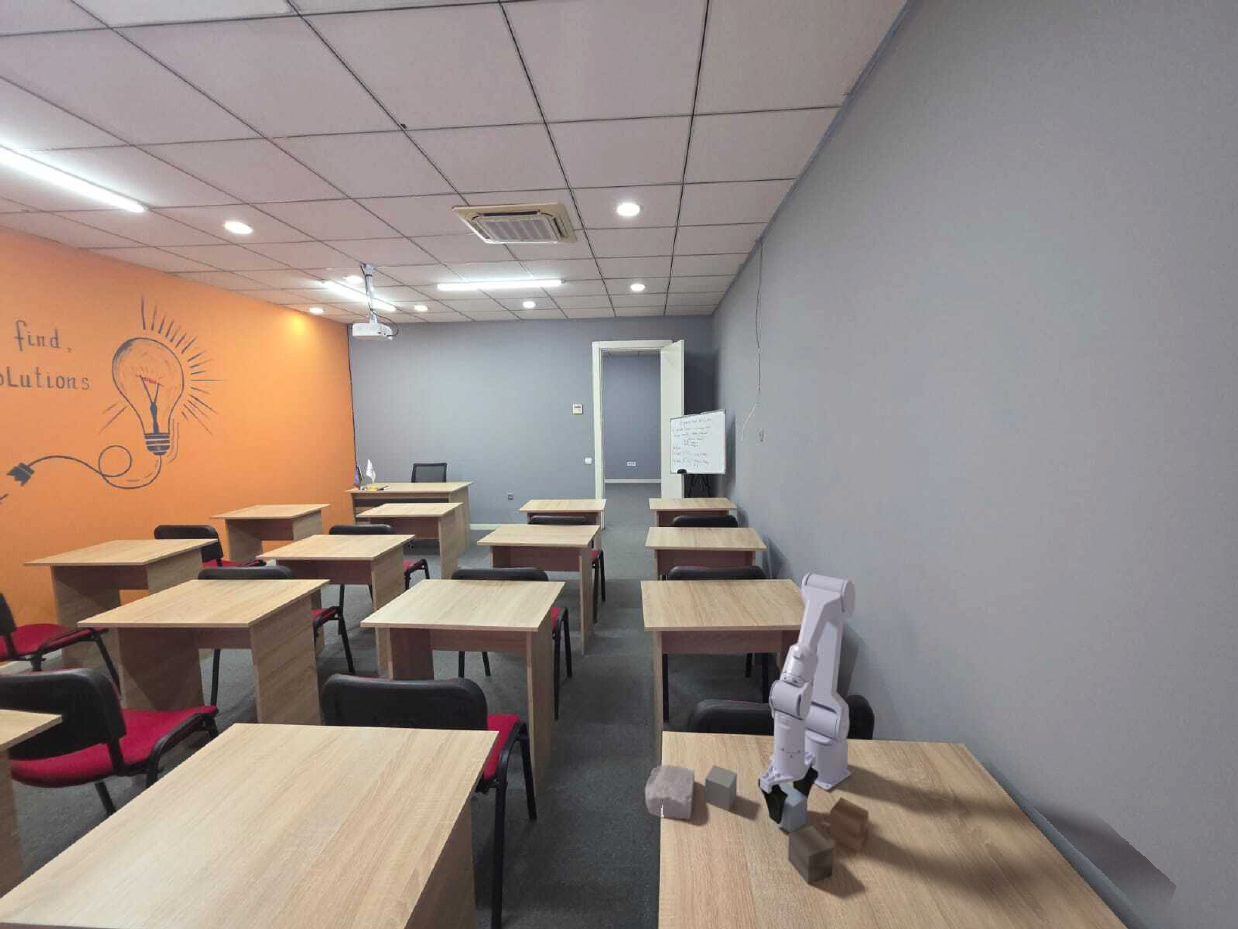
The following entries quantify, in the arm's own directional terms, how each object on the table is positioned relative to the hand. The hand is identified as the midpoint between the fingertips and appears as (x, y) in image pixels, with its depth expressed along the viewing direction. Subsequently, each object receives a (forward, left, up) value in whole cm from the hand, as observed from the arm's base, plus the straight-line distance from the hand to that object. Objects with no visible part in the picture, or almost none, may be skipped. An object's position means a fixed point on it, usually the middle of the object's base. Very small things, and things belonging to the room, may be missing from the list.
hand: (787, 811), depth 95 cm
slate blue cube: (0, 0, -2) cm, 2 cm away
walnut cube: (-6, +9, -2) cm, 11 cm away
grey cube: (+7, -11, -2) cm, 13 cm away
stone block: (+15, -17, -2) cm, 23 cm away
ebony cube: (+6, +9, -2) cm, 11 cm away
